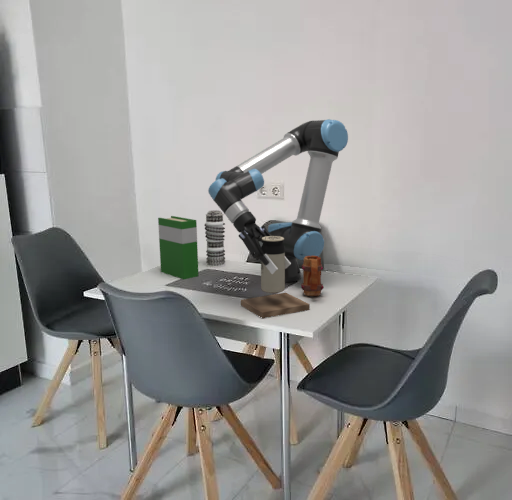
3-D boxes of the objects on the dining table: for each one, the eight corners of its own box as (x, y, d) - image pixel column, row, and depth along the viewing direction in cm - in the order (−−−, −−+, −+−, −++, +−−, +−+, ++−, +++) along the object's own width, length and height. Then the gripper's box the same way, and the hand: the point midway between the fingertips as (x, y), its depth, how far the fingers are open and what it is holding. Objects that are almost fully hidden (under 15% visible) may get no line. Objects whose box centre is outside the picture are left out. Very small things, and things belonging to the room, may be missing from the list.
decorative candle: (208, 262, 253) (207, 209, 247) (228, 263, 251) (226, 209, 246) (203, 267, 244) (201, 212, 239) (223, 267, 242) (221, 212, 237)
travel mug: (286, 287, 186) (286, 236, 183) (282, 293, 179) (282, 240, 175) (263, 286, 188) (263, 235, 184) (259, 292, 180) (258, 239, 177)
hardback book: (160, 272, 236) (158, 217, 231) (175, 269, 241) (172, 215, 236) (183, 279, 223) (181, 222, 219) (198, 276, 228) (196, 220, 223)
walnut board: (285, 297, 196) (285, 292, 195) (309, 309, 182) (309, 304, 181) (240, 305, 188) (240, 299, 187) (262, 318, 174) (262, 312, 173)
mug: (300, 291, 204) (300, 252, 200) (322, 291, 203) (322, 252, 200) (302, 303, 189) (302, 261, 186) (325, 303, 189) (326, 261, 186)
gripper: (251, 220, 196) (290, 269, 190) (216, 228, 179) (258, 282, 173) (263, 207, 192) (303, 256, 186) (229, 214, 175) (272, 268, 169)
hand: (281, 268), depth 180 cm, fingers closed on travel mug, 8 cm apart
